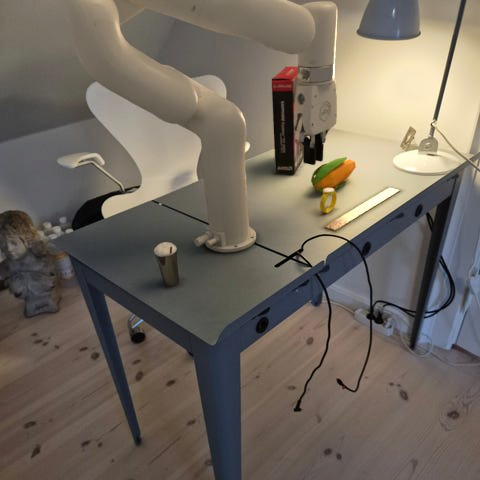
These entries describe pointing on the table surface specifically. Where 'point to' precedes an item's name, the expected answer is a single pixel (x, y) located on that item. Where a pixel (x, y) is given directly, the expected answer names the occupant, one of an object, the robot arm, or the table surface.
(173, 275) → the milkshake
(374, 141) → the table surface
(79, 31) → the robot arm
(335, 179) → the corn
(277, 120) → the graphics card box
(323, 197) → the watch
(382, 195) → the ruler
